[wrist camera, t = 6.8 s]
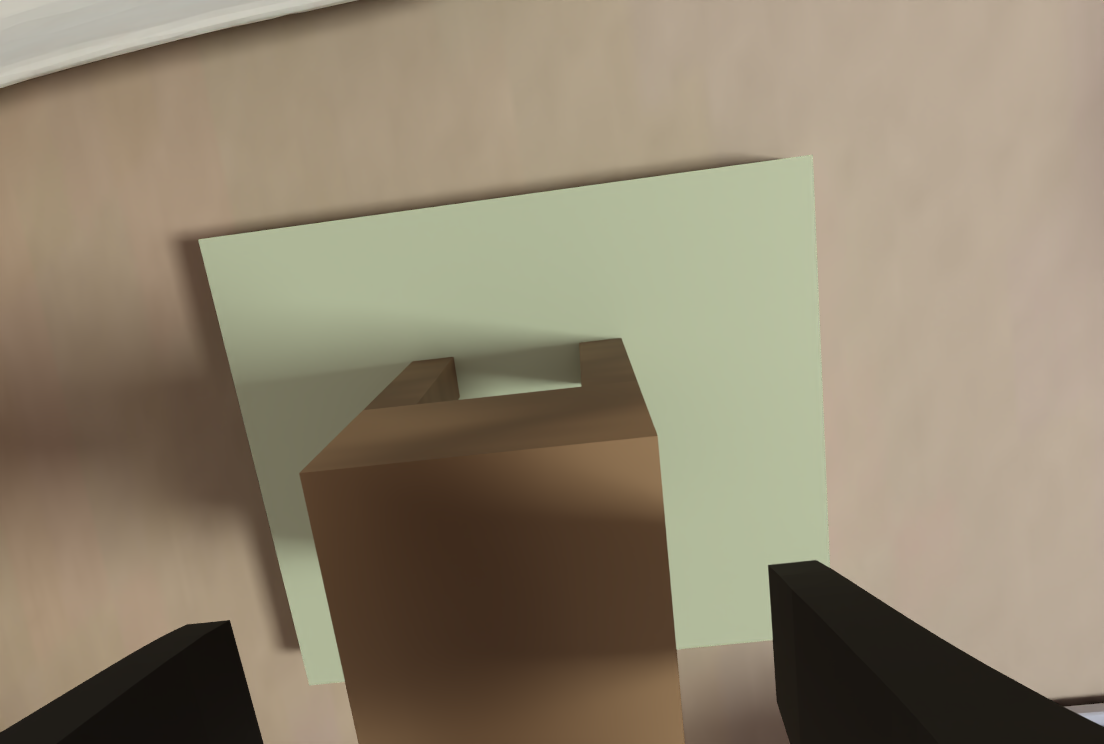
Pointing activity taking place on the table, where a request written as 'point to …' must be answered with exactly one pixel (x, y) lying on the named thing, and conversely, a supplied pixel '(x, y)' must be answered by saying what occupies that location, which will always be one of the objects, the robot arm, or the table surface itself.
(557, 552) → the walnut stool
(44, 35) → the salad plate
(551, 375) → the sage green board
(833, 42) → the table surface
